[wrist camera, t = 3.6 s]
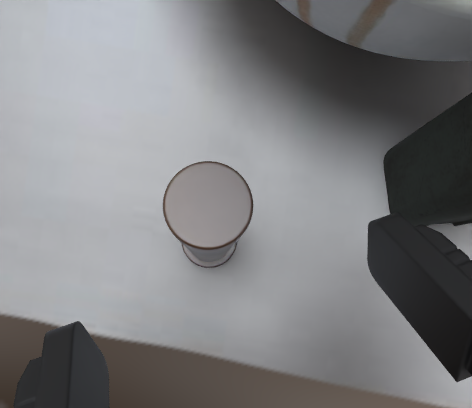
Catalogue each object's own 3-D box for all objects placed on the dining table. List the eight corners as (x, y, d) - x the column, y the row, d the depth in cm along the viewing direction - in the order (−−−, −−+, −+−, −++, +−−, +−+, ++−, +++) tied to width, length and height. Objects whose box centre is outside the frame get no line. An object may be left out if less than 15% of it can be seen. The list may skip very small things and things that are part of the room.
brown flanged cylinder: (188, 273, 22) (163, 273, 10) (177, 220, 22) (141, 161, 10) (240, 261, 22) (276, 247, 10) (229, 209, 23) (250, 140, 11)
